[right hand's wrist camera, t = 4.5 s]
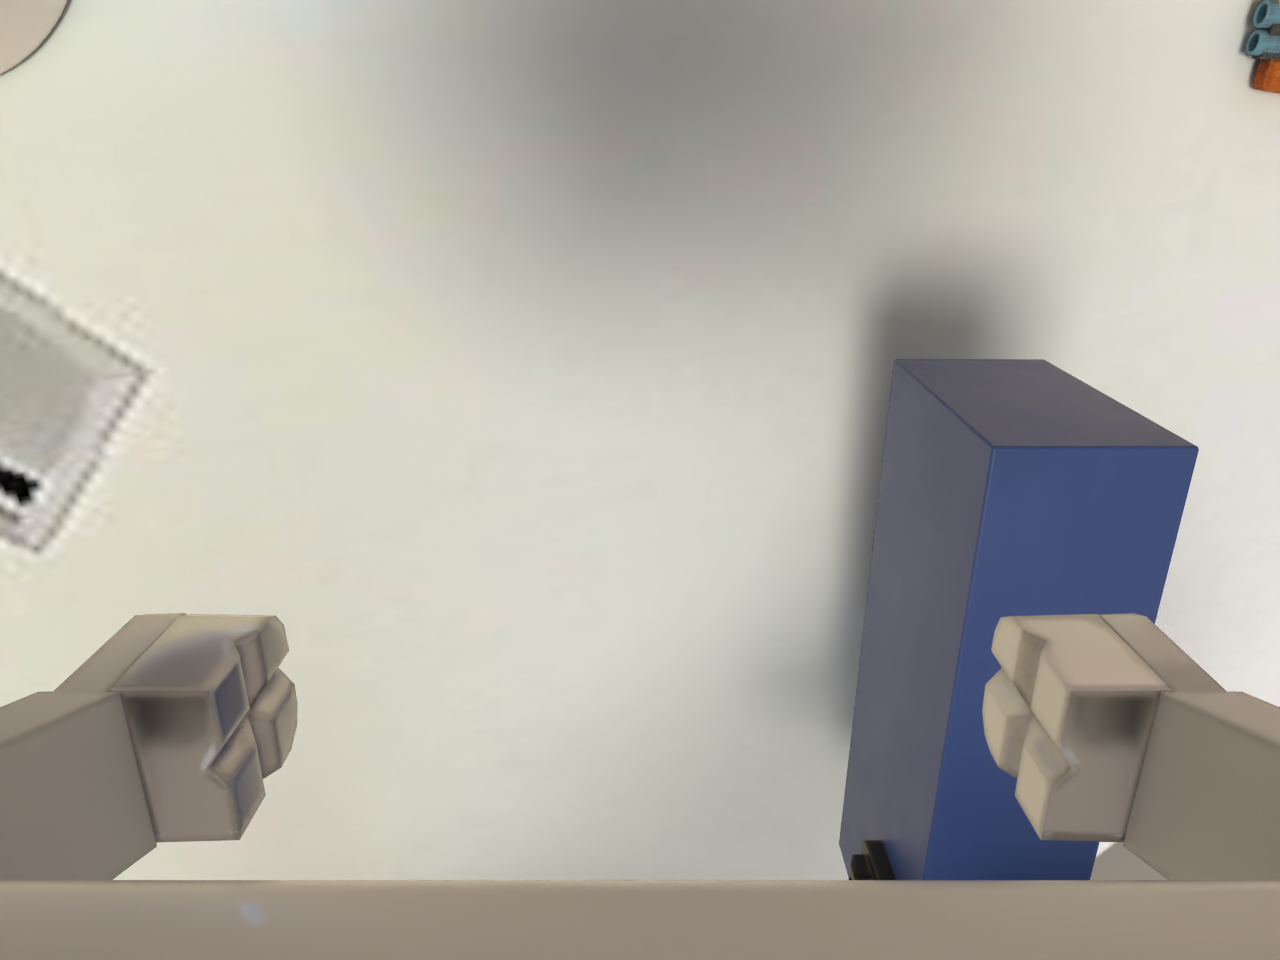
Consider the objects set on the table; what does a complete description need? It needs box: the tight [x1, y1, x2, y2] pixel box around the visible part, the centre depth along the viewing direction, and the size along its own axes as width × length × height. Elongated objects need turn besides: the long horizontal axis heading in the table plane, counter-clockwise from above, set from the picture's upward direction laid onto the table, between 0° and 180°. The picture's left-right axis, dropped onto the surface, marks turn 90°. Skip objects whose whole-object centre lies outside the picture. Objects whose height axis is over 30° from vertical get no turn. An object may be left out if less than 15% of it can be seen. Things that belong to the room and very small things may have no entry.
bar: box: [839, 359, 1198, 880], centre depth 32 cm, size 23×6×10 cm, turn 0°
